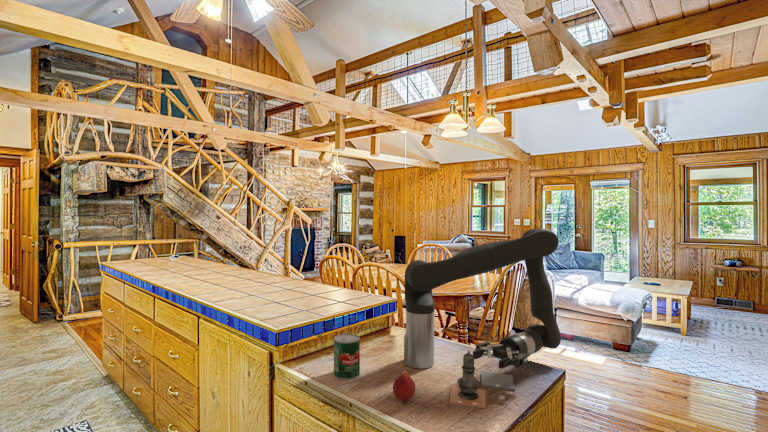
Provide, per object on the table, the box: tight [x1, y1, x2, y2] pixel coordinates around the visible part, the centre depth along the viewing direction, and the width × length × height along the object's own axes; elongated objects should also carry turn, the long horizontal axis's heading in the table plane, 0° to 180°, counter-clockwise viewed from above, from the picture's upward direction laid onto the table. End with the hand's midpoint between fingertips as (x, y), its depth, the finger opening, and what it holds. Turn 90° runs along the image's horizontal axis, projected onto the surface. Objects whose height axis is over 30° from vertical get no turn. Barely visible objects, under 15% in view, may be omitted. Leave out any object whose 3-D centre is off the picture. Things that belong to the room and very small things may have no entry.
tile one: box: [480, 371, 516, 392], centre depth 111 cm, size 9×9×1 cm
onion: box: [392, 370, 416, 403], centre depth 99 cm, size 6×6×8 cm
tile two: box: [448, 385, 487, 409], centre depth 102 cm, size 9×9×1 cm
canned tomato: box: [333, 333, 361, 381], centre depth 115 cm, size 8×8×11 cm
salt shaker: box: [456, 350, 481, 400], centre depth 102 cm, size 6×6×12 cm
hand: (486, 360), depth 107 cm, fingers open, 8 cm apart
